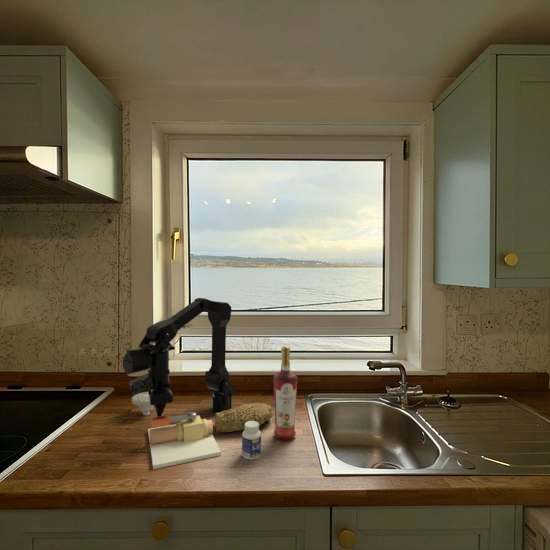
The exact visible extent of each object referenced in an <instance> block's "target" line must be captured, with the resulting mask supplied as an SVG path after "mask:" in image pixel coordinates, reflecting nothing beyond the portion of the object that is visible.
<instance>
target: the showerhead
mask: <svg viewBox="0 0 550 550" xmlns="http://www.w3.org/2000/svg"><path fill="white" fill-rule="evenodd" d="M148 392H149V391H144V392H139V393H138V394H136V395H133V396H132V397H131V403H132V404H133V405H135V406H138V410H139V411H140V412H142V415H143V416H149V415H150V411H152V410H153V409H154V405H150V399H149V393H148Z"/></svg>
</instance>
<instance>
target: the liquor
mask: <svg viewBox="0 0 550 550" xmlns="http://www.w3.org/2000/svg"><path fill="white" fill-rule="evenodd" d="M280 350H281V351H280V352H281V365H280V366H281V367H280V371H279V372H276V373H275V374H274V375H273V395H274V396H273V398H274V422H275V423H274V424H275V426H274V431H273V434H274V436H276V437H277V438H278V439H279V440H281V441H290V440H291V439H292V438H294V437H295V436H296V435H297V432H296V430H295V427H296V425H295V423H296V422H295V421H296V404H297V403H296V401H297V389H298V388H297V387H298V386H297V385H298V376H297V375H296V373H294V372H292V371H291V363H290V355H291V347H290V346H287V345H285V346H281V348H280Z"/></svg>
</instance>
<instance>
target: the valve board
mask: <svg viewBox="0 0 550 550" xmlns="http://www.w3.org/2000/svg"><path fill="white" fill-rule="evenodd" d="M213 432H214V426H213V420H212V419H206V418H201V416H200V415H199V414H198V415H196V420H193V421H189V420H182V421H180V422H178V423H176V422H175V424H170V425H164V426H158V427H150V428H148V429H147V433H148V434H147V435H148V440H149V441H148V442H149V447H150V455H151V462H152V463H151V464H152V470H156V469H161V468H166V467H170V466H171V467H172V466H177V465H180V464H181V465H182V464H186V463H190V462H195V461H200V460H205V459H209V458H213V457H214V458H215V457H220V456H222V451H221V449H220V447H219V445H218V443H217V441H216V439H215V437H214V435H213Z"/></svg>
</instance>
